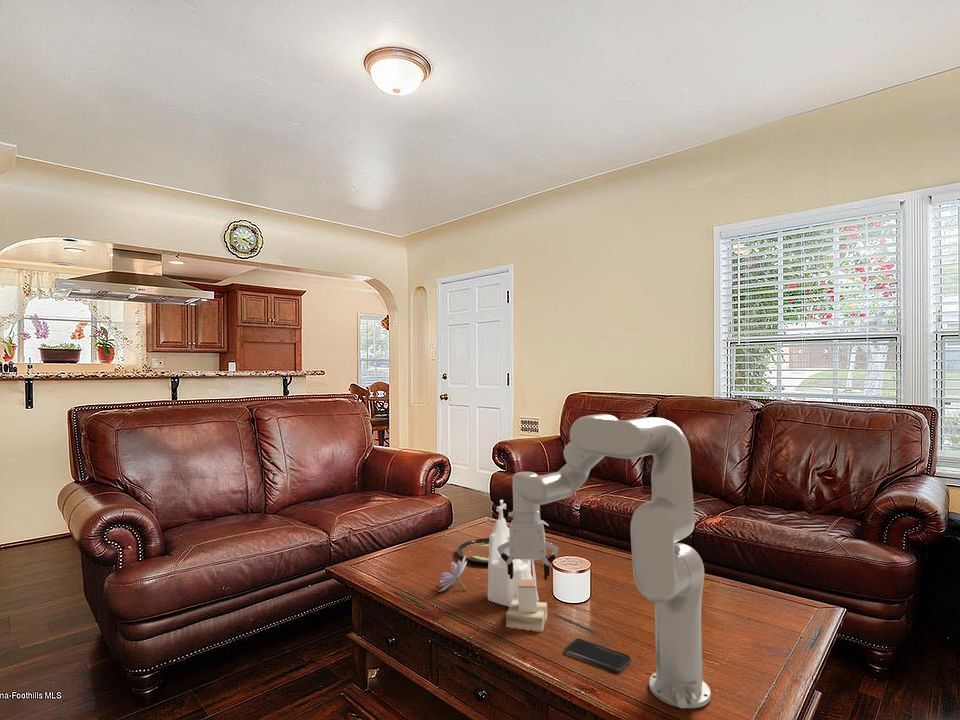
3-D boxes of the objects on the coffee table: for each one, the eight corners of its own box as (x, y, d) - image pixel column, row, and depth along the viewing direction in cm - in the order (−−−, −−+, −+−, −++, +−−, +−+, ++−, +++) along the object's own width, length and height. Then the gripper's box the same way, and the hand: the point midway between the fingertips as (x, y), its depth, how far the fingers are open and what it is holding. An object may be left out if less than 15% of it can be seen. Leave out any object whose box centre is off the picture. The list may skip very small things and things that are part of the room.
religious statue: (522, 614, 152) (523, 511, 152) (484, 602, 160) (485, 503, 160) (551, 593, 166) (551, 499, 166) (514, 583, 174) (515, 492, 174)
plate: (541, 550, 206) (541, 544, 206) (507, 574, 182) (507, 567, 183) (481, 539, 221) (481, 533, 221) (442, 560, 197) (442, 553, 197)
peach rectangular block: (536, 612, 145) (535, 586, 145) (518, 612, 146) (517, 586, 146) (536, 604, 150) (535, 579, 150) (519, 604, 150) (518, 579, 151)
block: (542, 633, 141) (542, 618, 142) (506, 629, 144) (506, 614, 144) (547, 616, 151) (547, 602, 151) (513, 613, 154) (513, 599, 154)
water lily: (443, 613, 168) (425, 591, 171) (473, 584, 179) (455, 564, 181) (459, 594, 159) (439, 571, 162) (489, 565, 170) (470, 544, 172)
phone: (618, 671, 121) (562, 650, 131) (618, 676, 121) (562, 654, 131) (632, 656, 127) (577, 637, 137) (632, 661, 127) (577, 641, 137)
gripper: (494, 519, 146) (496, 582, 145) (557, 520, 143) (559, 584, 143) (498, 512, 153) (499, 572, 153) (557, 513, 151) (559, 573, 150)
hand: (528, 577), depth 148 cm, fingers open, 9 cm apart
